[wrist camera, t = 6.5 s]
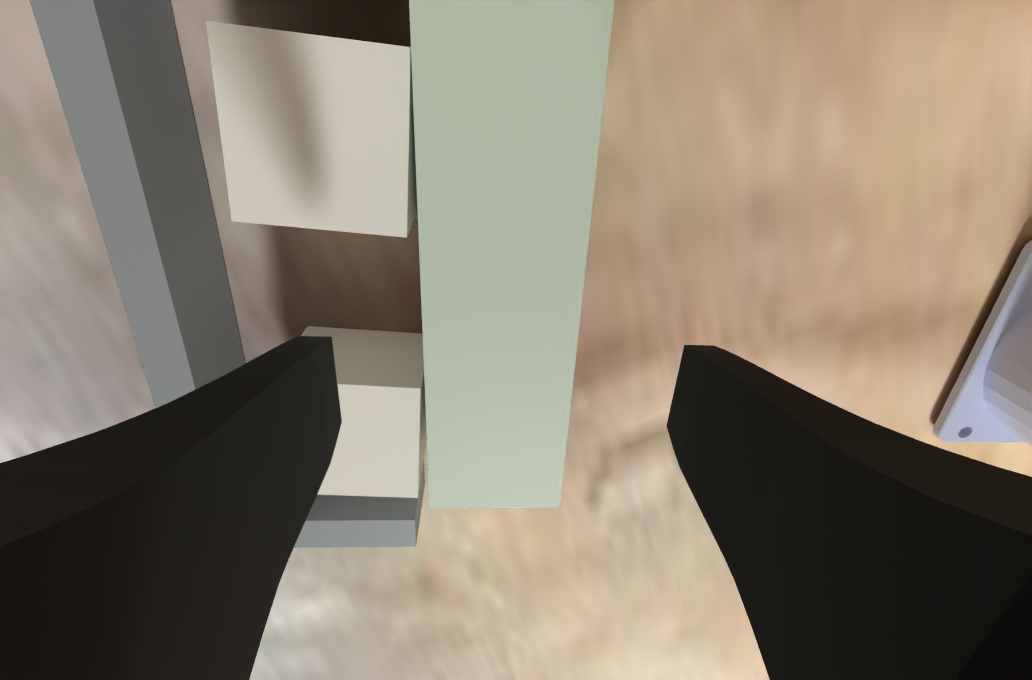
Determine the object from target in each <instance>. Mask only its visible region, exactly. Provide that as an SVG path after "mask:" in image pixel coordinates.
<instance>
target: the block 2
mask: <svg viewBox="0 0 1032 680" xmlns="http://www.w3.org/2000/svg"><path fill="white" fill-rule="evenodd" d="M301 336H324V337H332V343H333V352H334V360H335V368H336V377H337V385H338V394H339V402H340V410H341V419H342V423H341V427H340V431H339V435H338V439H337V442H336V446H335V449H334V453H333V456H332V460H331V463H330V466H329V468H328V470H327V473H326V475H325V478H324V480H323V482H322V484H321V487H320V489H319V491H318V494H317V495H345V496H374V497H403V498H418V494H419V488H420V481H421V474H422V468H423V461H424V455H425V448H426V441H427V430H426V405H425V381H424V356H423V334H420V333H405V332H389V331H374V330H359V329H344V328H328V327H313V326H307V328H306V329H305V330H304V332H303V333H302V335H301Z"/></svg>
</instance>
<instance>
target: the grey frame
mask: <svg viewBox="0 0 1032 680" xmlns="http://www.w3.org/2000/svg"><path fill="white" fill-rule="evenodd" d="M30 3H31V6H32V9H33V13H34V16H35V19H36V22H37V26H38V29H39V32H40V35H41V39H42V42H43V45H44V48H45V52H46V55H47V58H48V61H49V64H50V68H51V71H52V74H53V77H54V81H55V84H56V87H57V90H58V94H59V97H60V100H61V103H62V106H63V110H64V113H65V116H66V119H67V123H68V126H69V129H70V132H71V136H72V139H73V142H74V145H75V149H76V152H77V155H78V158H79V161H80V165H81V168H82V171H83V174H84V178H85V181H86V184H87V187H88V191H89V194H90V197H91V200H92V203H93V207H94V210H95V213H96V216H97V220H98V223H99V226H100V229H101V233H102V236H103V239H104V242H105V246H106V249H107V252H108V255H109V258H110V262H111V265H112V268H113V271H114V275H115V278H116V281H117V284H118V288H119V291H120V294H121V297H122V300H123V304H124V307H125V310H126V313H127V317H128V320H129V323H130V326H131V330H132V333H133V336H134V339H135V343H136V346H137V349H138V352H139V355H140V359H141V362H142V365H143V368H144V372H145V375H146V378H147V381H148V385H149V388H150V391H151V394H152V397H153V401H154V404H155V407H156V408H158V407H160V406H162V405H164V404H167V403H169V402H171V401H173V400H175V399H177V398H179V397H181V396H183V395H185V394H187V393H189V392H191V391H193V390H195V389H197V388H199V387H201V386H204V385H206V384H208V383H210V382H212V381H214V380H216V379H218V378H220V377H222V376H224V375H225V374H227V373H229V372H231V371H233V370H235V369H237V368H238V367H240V366H242V365H244V364H245V360H244V355H243V350H242V345H241V340H240V336H239V331H238V326H237V321H236V316H235V312H234V307H233V302H232V297H231V292H230V287H229V283H228V278H227V273H226V268H225V263H224V259H223V254H222V249H221V244H220V239H219V235H218V230H217V225H216V220H215V215H214V210H213V206H212V201H211V196H210V191H209V186H208V182H207V177H206V172H205V167H204V162H203V157H202V153H201V148H200V143H199V138H198V133H197V129H196V124H195V119H194V114H193V109H192V104H191V100H190V95H189V90H188V85H187V80H186V76H185V71H184V66H183V61H182V56H181V51H180V47H179V42H178V37H177V32H176V27H175V23H174V18H173V13H172V8H171V3H170V0H30ZM424 486H425V478H424V461H423V468H422V474H421V481H420V488H419V494H418V498H403V497H374V496H345V495H317V496H316V498H315V501H314V503H313V505H312V507H311V510H310V512H309V514H308V516H307V519H306V521H305V523H304V525H303V528H302V530H301V532H300V534H299V537H298V539H297V541H296V543H295V546H294V548H303V547H410V546H416V542H417V535H418V528H419V521H420V514H421V507H422V500H423V493H424Z"/></svg>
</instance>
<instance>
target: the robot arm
mask: <svg viewBox="0 0 1032 680" xmlns="http://www.w3.org/2000/svg"><path fill="white" fill-rule="evenodd" d="M341 423H342V419H341V410H340V402H339V394H338V385H337V377H336V368H335V360H334V352H333V343H332V337H324V336H299V337H296V338H294V339H292V340H289V341H287V342H285V343H283V344H281V345H279V346H277V347H275V348H274V349H272V350H270V351H268V352H266V353H264V354H262V355H261V356H259V357H257V358H255V359H253V360H251V361H250V362H248V363H246V364H244V365H242V366H240V367H238V368H237V369H235V370H233V371H231V372H229V373H227V374H225V375H224V376H222V377H220V378H218V379H216V380H214V381H212V382H210V383H208V384H206V385H204V386H201V387H199V388H197V389H195V390H193V391H191V392H189V393H187V394H185V395H183V396H181V397H179V398H177V399H175V400H173V401H171V402H169V403H167V404H164V405H162V406H160V407H158V408H155V409H153V410H151V411H148V412H146V413H144V414H141V415H139V416H136V417H134V418H131V419H129V420H126V421H124V422H121V423H119V424H116V425H114V426H111V427H109V428H106V429H103V430H100V431H98V432H95V433H92V434H89V435H86V436H83V437H80V438H77V439H74V440H71V441H68V442H65V443H62V444H59V445H56V446H53V447H50V448H47V449H44V450H41V451H38V452H35V453H32V454H29V455H26V456H23V457H20V458H16V459H13V460H10V461H6V462H3V463H0V680H249V678H250V675H251V672H252V668H253V665H254V661H255V658H256V655H257V651H258V648H259V645H260V641H261V638H262V635H263V632H264V628H265V625H266V622H267V619H268V616H269V613H270V610H271V607H272V604H273V600H274V597H275V594H276V591H277V588H278V585H279V582H280V580H281V577H282V574H283V572H284V569H285V567H286V564H287V562H288V559H289V557H290V555H291V552H292V550H293V548H294V546H295V543H296V541H297V539H298V537H299V534H300V532H301V530H302V528H303V525H304V523H305V521H306V519H307V516H308V514H309V512H310V510H311V507H312V505H313V503H314V501H315V498H316V496H317V494H318V491H319V489H320V487H321V484H322V482H323V480H324V478H325V475H326V473H327V470H328V468H329V466H330V463H331V460H332V456H333V453H334V449H335V446H336V442H337V439H338V435H339V431H340V427H341ZM667 429H668V432H669V435H670V439H671V442H672V445H673V449H674V452H675V455H676V458H677V461H678V464H679V466H680V468H681V471H682V473H683V475H684V477H685V479H686V481H687V483H688V485H689V487H690V489H691V491H692V493H693V496H694V498H695V500H696V502H697V504H698V506H699V508H700V510H701V512H702V514H703V516H704V518H705V520H706V522H707V524H708V526H709V528H710V530H711V532H712V534H713V536H714V538H715V540H716V542H717V544H718V546H719V548H720V550H721V552H722V554H723V556H724V558H725V560H726V562H727V565H728V567H729V569H730V571H731V574H732V576H733V578H734V580H735V583H736V586H737V588H738V591H739V594H740V596H741V599H742V602H743V604H744V607H745V610H746V613H747V615H748V618H749V621H750V623H751V626H752V629H753V632H754V635H755V638H756V640H757V643H758V646H759V649H760V652H761V655H762V658H763V661H764V664H765V667H766V670H767V673H768V676H769V679H770V680H1032V477H1030V476H1026V475H1023V474H1020V473H1016V472H1013V471H1009V470H1006V469H1002V468H999V467H996V466H993V465H989V464H986V463H983V462H980V461H977V460H974V459H971V458H968V457H965V456H962V455H959V454H956V453H953V452H949V451H946V450H944V449H941V448H938V447H935V446H932V445H930V444H927V443H924V442H921V441H918V440H916V439H913V438H911V437H908V436H906V435H903V434H901V433H898V432H896V431H893V430H891V429H888V428H885V427H883V426H880V425H878V424H875V423H873V422H871V421H868V420H866V419H864V418H861V417H859V416H857V415H855V414H853V413H850V412H848V411H846V410H844V409H842V408H840V407H838V406H835V405H833V404H831V403H829V402H827V401H825V400H823V399H821V398H819V397H817V396H815V395H813V394H811V393H809V392H807V391H805V390H803V389H801V388H799V387H797V386H795V385H793V384H791V383H789V382H787V381H785V380H783V379H781V378H779V377H778V376H776V375H774V374H772V373H770V372H768V371H766V370H764V369H762V368H760V367H758V366H757V365H755V364H753V363H751V362H749V361H747V360H745V359H743V358H741V357H739V356H737V355H735V354H733V353H730V352H728V351H726V350H724V349H721V348H718V347H716V346H706V345H684V349H683V354H682V358H681V363H680V368H679V372H678V377H677V381H676V386H675V390H674V395H673V399H672V404H671V408H670V413H669V417H668V422H667ZM933 434H934V435H935V436H936V437H938V438H939V439H940V440H941V441H944V442H1024V443H1029V444H1030V445H1031V446H1032V240H1031V241H1029V242H1028V243H1027V244H1026V245H1025V246H1024V248H1023V249H1022V251H1021V253H1020V255H1019V257H1018V259H1017V261H1016V263H1015V265H1014V267H1013V269H1012V271H1011V273H1010V275H1009V277H1008V279H1007V281H1006V283H1005V285H1004V287H1003V289H1002V291H1001V293H1000V295H999V297H998V299H997V301H996V303H995V305H994V307H993V309H992V311H991V313H990V315H989V317H988V319H987V321H986V323H985V325H984V327H983V329H982V331H981V333H980V335H979V337H978V339H977V341H976V343H975V345H974V347H973V349H972V351H971V353H970V355H969V357H968V359H967V361H966V363H965V365H964V367H963V369H962V371H961V373H960V375H959V377H958V379H957V381H956V383H955V385H954V387H953V389H952V391H951V393H950V395H949V397H948V399H947V401H946V403H945V405H944V407H943V409H942V411H941V413H940V415H939V417H938V419H937V421H936V423H935V425H934V427H933Z"/></svg>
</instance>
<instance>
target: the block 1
mask: <svg viewBox="0 0 1032 680" xmlns="http://www.w3.org/2000/svg"><path fill="white" fill-rule="evenodd" d="M206 27H207V35H208V42H209V50H210V58H211V66H212V73H213V81H214V89H215V96H216V104H217V112H218V119H219V127H220V135H221V142H222V150H223V158H224V165H225V173H226V181H227V188H228V196H229V204H230V211H231V219H232V221H234V222H245V223H256V224H267V225H277V226H288V227H299V228H309V229H320V230H331V231H342V232H352V233H363V234H374V235H385V236H395V237H406V238H407V236H408V234H409V232H410V230H411V228H412V226H413V224H414V222H415V220H416V217H417V215H418V209H417V184H416V160H415V135H414V110H413V86H412V61H411V47H406V46H398V45H390V44H383V43H375V42H367V41H359V40H352V39H344V38H336V37H328V36H321V35H313V34H305V33H297V32H290V31H282V30H274V29H267V28H259V27H251V26H243V25H236V24H228V23H220V22H212V21H206Z"/></svg>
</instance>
